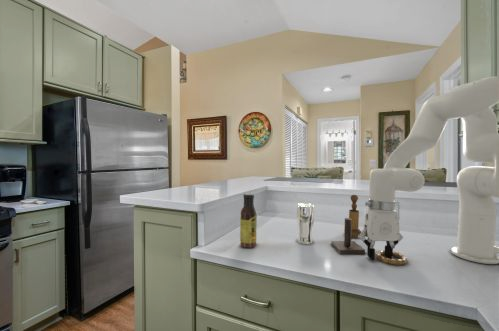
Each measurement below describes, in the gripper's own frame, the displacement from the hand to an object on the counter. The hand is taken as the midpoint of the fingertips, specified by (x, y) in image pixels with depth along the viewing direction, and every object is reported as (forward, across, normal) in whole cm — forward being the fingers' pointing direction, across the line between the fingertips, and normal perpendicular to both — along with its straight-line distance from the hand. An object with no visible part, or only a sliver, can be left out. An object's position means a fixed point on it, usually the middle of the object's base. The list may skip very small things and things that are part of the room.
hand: (379, 258), depth 83 cm
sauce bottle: (+1, -44, +13) cm, 46 cm away
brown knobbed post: (+1, +2, +24) cm, 24 cm away
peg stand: (0, -7, +9) cm, 12 cm away
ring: (0, +4, 0) cm, 4 cm away
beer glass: (+1, -21, +17) cm, 27 cm away
